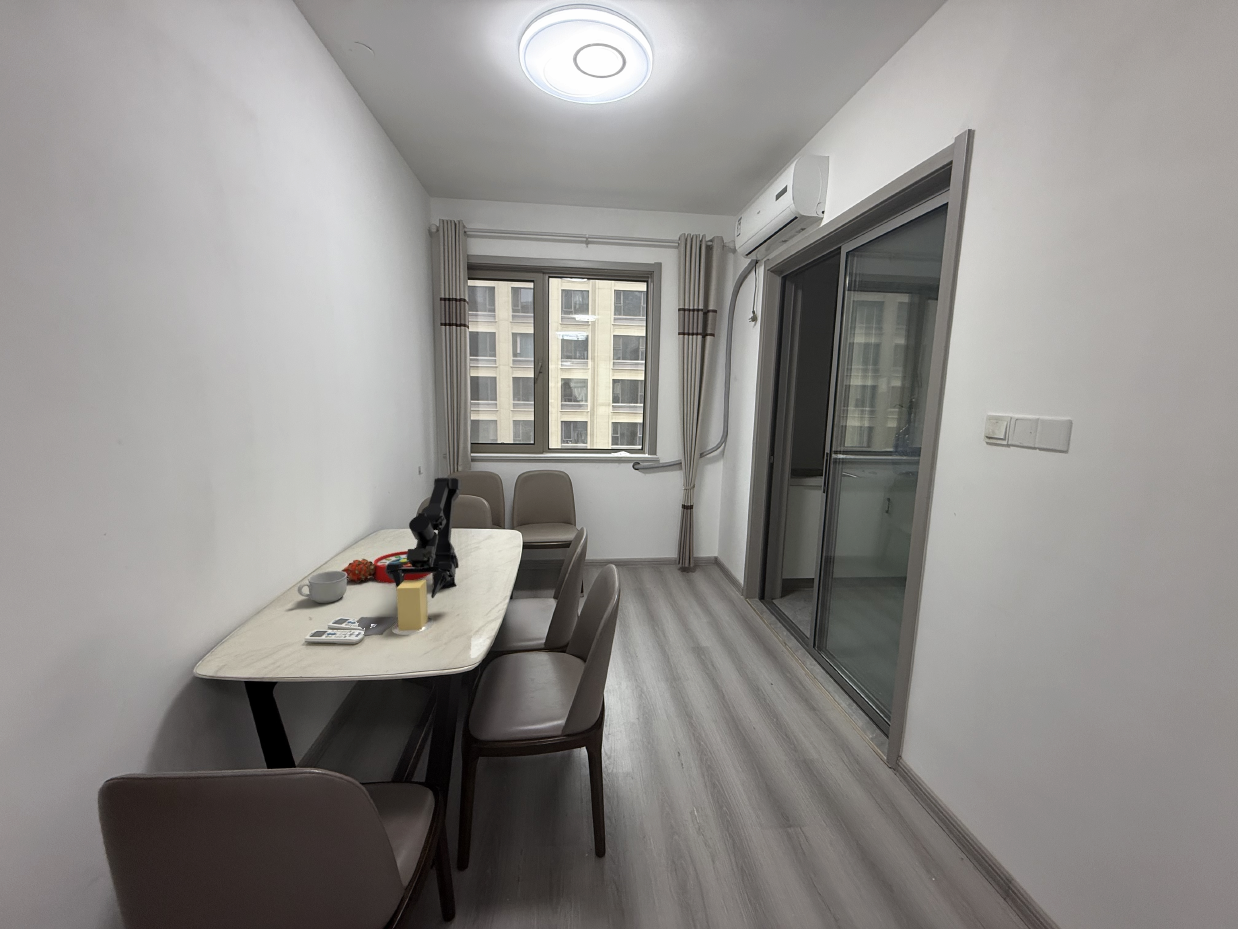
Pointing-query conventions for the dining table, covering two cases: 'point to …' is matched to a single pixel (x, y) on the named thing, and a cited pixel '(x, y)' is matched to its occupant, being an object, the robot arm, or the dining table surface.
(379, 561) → the toy clock
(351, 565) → the dragon fruit
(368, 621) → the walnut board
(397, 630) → the silver metal disc
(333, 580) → the teacup
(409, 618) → the tan wooden brick
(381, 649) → the dining table surface
